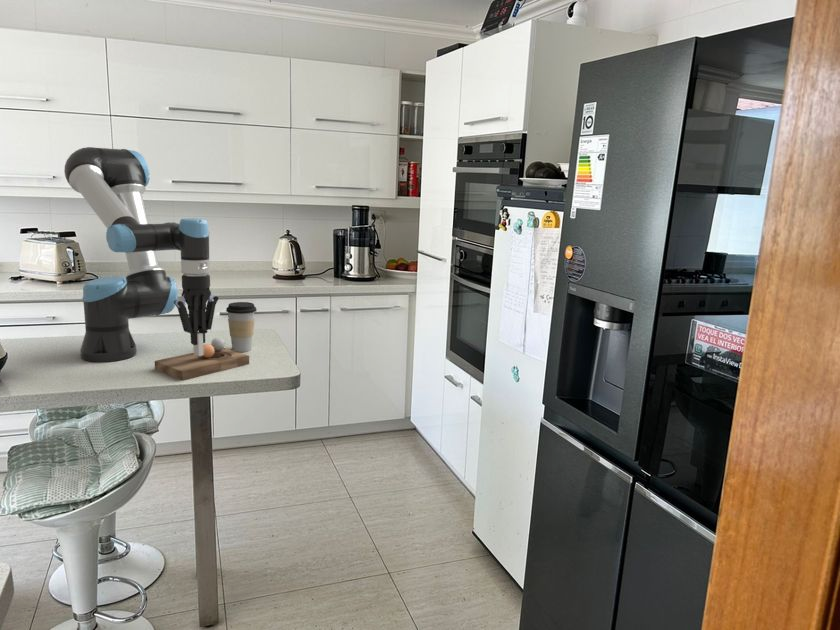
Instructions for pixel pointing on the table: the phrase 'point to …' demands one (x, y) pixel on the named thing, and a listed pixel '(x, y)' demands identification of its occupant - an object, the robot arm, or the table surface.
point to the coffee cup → (241, 325)
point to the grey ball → (218, 344)
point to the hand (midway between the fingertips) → (198, 354)
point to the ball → (208, 350)
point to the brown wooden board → (200, 363)
